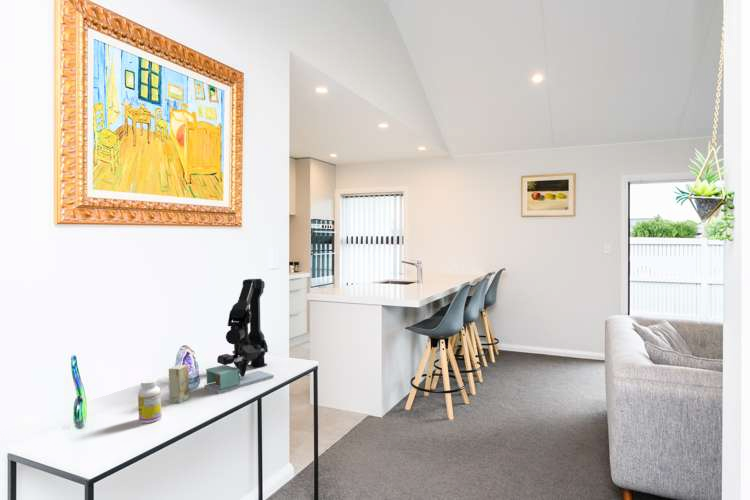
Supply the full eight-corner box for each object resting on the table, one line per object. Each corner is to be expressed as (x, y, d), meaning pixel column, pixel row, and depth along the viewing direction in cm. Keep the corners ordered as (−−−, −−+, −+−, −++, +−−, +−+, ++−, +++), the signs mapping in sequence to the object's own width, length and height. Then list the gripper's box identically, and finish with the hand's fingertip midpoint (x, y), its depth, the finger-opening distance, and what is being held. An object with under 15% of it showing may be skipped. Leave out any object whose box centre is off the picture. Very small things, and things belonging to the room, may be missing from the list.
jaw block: (215, 384, 184) (215, 371, 184) (224, 382, 187) (224, 369, 187) (221, 386, 182) (220, 373, 182) (230, 384, 185) (229, 371, 185)
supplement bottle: (140, 417, 155) (138, 379, 155) (162, 414, 157) (160, 376, 157) (137, 425, 149) (136, 385, 148) (160, 422, 151) (159, 382, 151)
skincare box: (180, 403, 168) (178, 369, 168) (169, 402, 169) (167, 369, 168) (190, 397, 175) (188, 364, 174) (179, 396, 175) (177, 364, 175)
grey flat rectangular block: (204, 388, 184) (204, 381, 184) (259, 373, 203) (258, 367, 203) (218, 393, 177) (218, 386, 177) (273, 377, 196) (273, 371, 196)
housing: (206, 383, 185) (206, 369, 185) (225, 378, 191) (224, 364, 191) (221, 389, 178) (220, 373, 178) (239, 383, 184) (239, 369, 184)
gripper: (230, 345, 178) (232, 386, 179) (272, 336, 192) (273, 374, 193) (215, 341, 186) (217, 380, 187) (256, 333, 200) (257, 369, 200)
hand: (242, 376), depth 191 cm, fingers closed
